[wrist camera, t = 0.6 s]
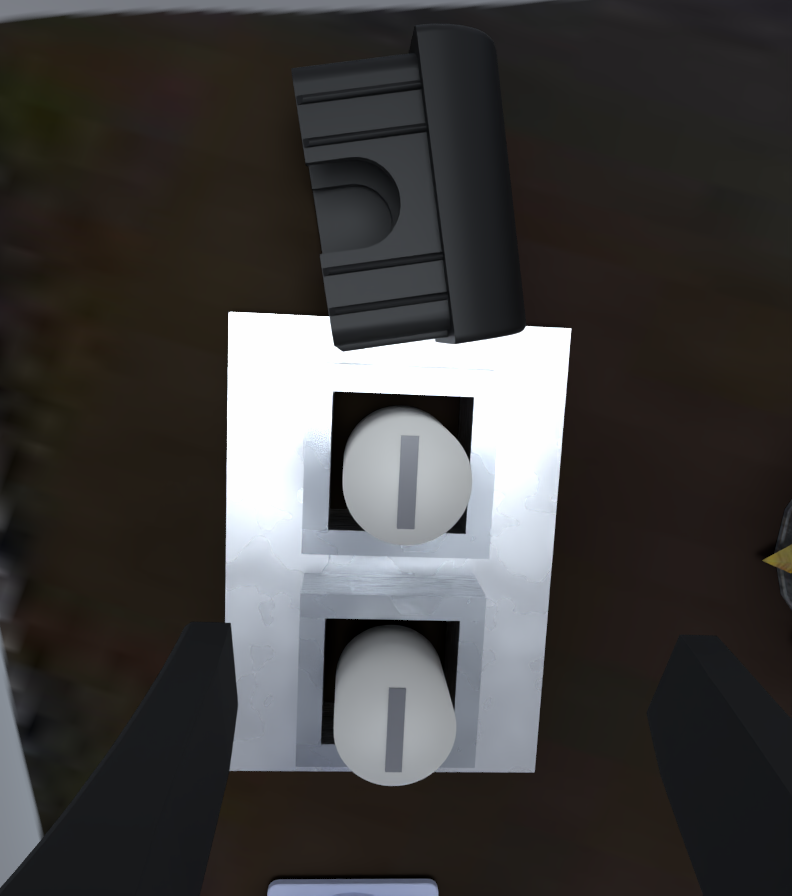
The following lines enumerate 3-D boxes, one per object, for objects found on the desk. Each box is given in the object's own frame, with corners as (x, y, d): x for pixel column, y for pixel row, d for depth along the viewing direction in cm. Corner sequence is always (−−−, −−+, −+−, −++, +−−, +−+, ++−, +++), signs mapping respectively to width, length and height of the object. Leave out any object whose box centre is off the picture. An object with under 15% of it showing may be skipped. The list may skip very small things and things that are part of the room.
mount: (529, 759, 34) (549, 807, 31) (227, 757, 33) (213, 806, 30) (564, 328, 31) (590, 328, 28) (232, 312, 30) (217, 310, 27)
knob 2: (439, 725, 31) (453, 787, 26) (334, 724, 30) (331, 787, 26) (444, 625, 30) (460, 673, 26) (337, 623, 30) (335, 672, 26)
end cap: (503, 331, 31) (546, 331, 24) (338, 355, 31) (335, 362, 24) (475, 82, 29) (512, 9, 23) (300, 105, 29) (286, 38, 22)
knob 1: (451, 516, 29) (468, 548, 25) (341, 513, 29) (340, 544, 25) (457, 407, 29) (476, 420, 24) (345, 403, 28) (344, 415, 24)
